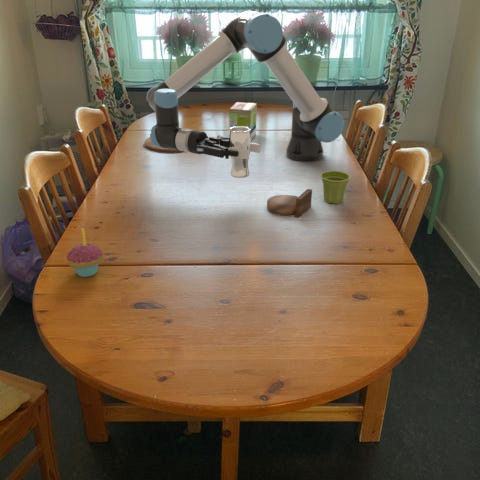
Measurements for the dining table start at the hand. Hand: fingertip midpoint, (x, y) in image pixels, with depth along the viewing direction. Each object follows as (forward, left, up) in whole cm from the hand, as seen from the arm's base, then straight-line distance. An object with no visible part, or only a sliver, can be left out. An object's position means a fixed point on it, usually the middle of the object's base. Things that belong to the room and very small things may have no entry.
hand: (253, 151), depth 156 cm
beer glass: (+4, -3, -9) cm, 10 cm away
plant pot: (-26, +4, -17) cm, 32 cm away
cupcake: (+50, +36, -17) cm, 64 cm away
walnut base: (-9, +7, -17) cm, 20 cm away
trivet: (+21, -69, -18) cm, 74 cm away
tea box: (-11, -73, -17) cm, 76 cm away
